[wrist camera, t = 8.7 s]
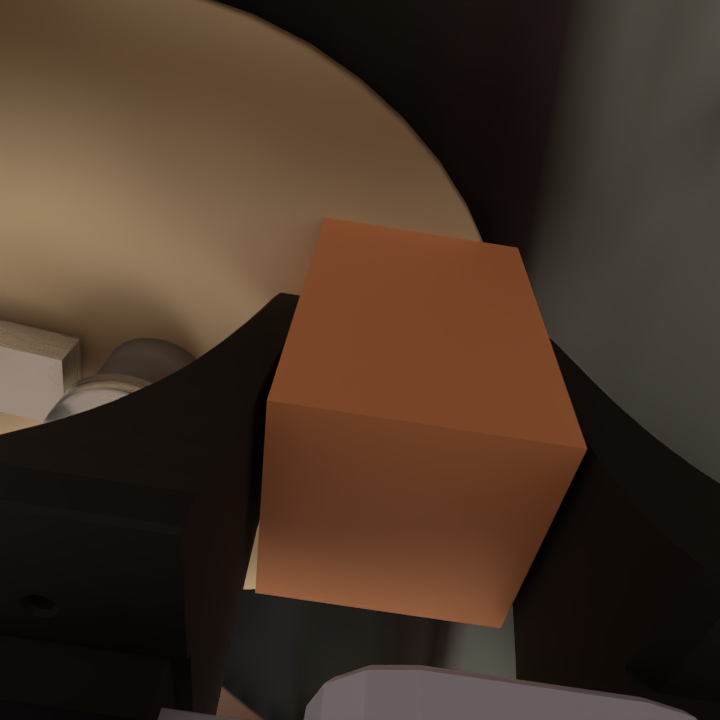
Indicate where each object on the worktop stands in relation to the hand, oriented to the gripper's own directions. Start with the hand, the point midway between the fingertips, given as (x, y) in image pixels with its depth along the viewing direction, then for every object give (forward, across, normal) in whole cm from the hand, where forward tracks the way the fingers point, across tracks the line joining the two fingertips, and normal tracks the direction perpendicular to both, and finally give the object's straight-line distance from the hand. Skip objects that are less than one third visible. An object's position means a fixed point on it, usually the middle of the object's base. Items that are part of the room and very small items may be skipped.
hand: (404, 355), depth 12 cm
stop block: (+2, 0, 0) cm, 2 cm away
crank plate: (+2, +6, +3) cm, 7 cm away
